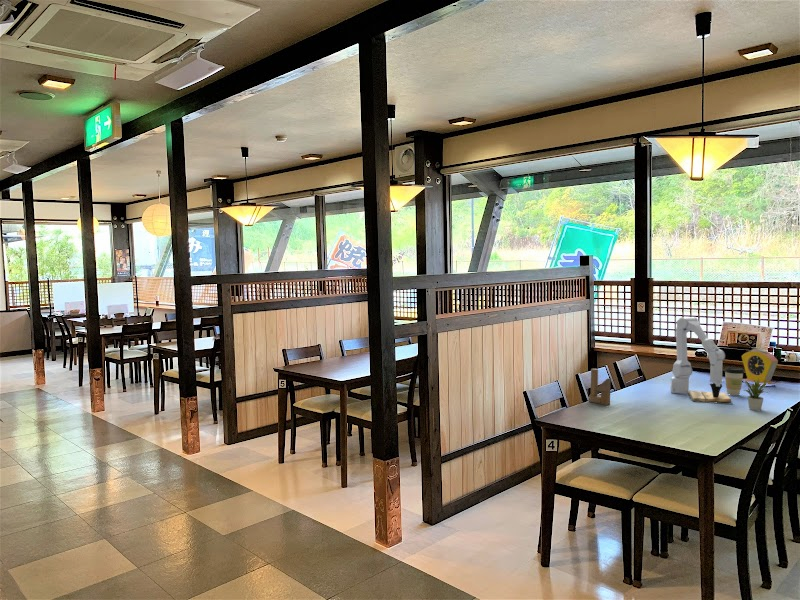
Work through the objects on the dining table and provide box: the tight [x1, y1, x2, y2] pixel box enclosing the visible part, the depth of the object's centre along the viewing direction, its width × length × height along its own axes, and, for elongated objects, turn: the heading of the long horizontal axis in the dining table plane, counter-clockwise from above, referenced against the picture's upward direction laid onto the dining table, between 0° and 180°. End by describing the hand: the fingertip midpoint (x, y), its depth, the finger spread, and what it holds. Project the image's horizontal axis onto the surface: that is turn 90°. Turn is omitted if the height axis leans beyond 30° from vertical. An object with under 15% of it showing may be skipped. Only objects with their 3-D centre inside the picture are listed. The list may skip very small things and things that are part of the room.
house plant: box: [743, 378, 774, 411], centre depth 305 cm, size 14×14×16 cm
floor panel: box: [688, 390, 733, 405], centre depth 331 cm, size 19×20×2 cm
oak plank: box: [704, 395, 732, 402], centre depth 325 cm, size 12×9×1 cm
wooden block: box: [588, 368, 612, 406], centre depth 321 cm, size 4×11×18 cm, turn 39°
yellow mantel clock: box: [741, 348, 779, 384], centre depth 369 cm, size 22×9×22 cm, turn 17°
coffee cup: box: [723, 366, 745, 396], centre depth 340 cm, size 10×10×15 cm
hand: (715, 397), depth 326 cm, fingers closed, pressing on oak plank
